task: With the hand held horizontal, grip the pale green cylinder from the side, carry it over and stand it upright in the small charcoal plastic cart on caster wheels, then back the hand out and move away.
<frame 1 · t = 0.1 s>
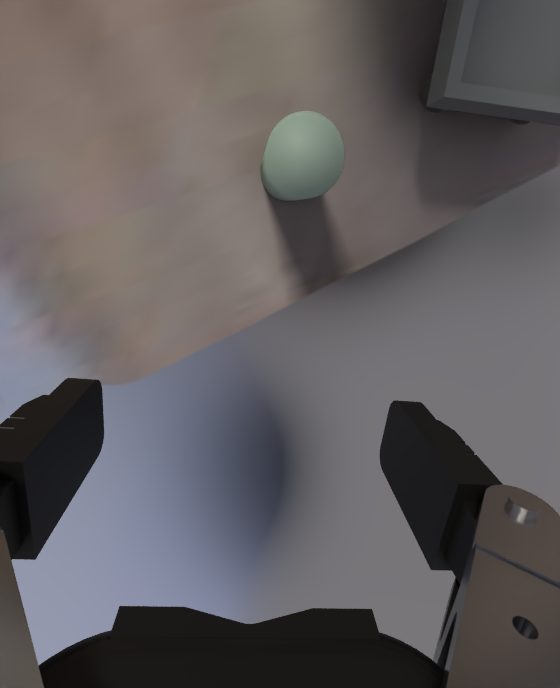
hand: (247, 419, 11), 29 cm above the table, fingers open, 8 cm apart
pale green cylinder: (287, 172, 36), on the table
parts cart: (490, 28, 33), on the table
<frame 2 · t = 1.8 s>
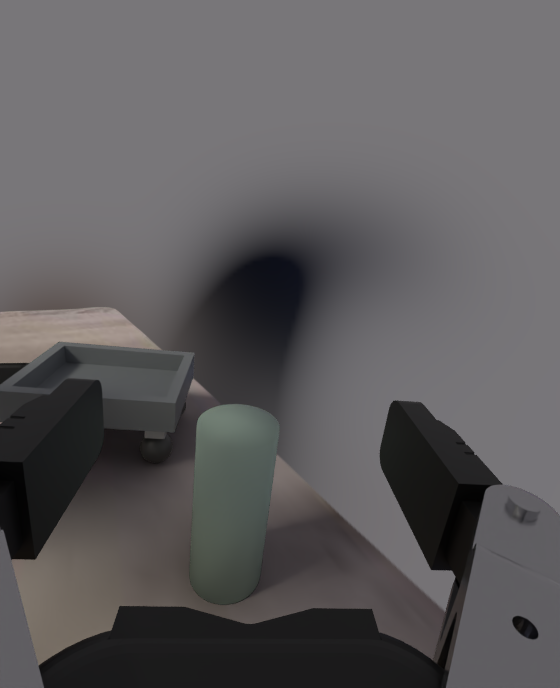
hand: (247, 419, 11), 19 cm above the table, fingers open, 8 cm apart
pale green cylinder: (225, 570, 28), on the table
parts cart: (112, 433, 41), on the table
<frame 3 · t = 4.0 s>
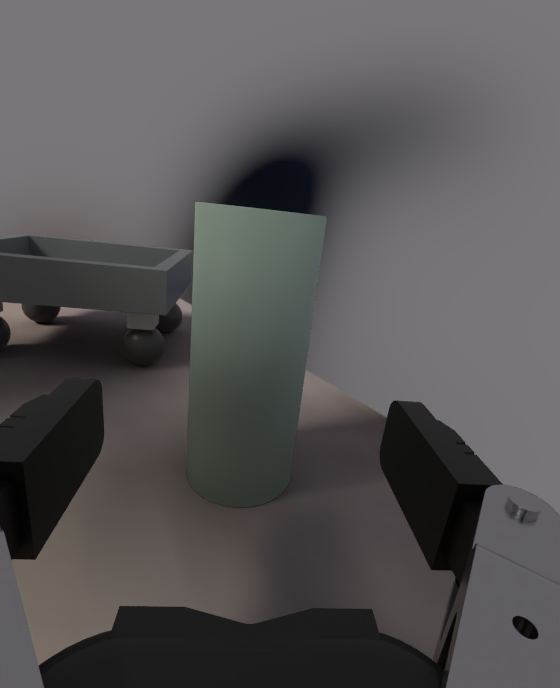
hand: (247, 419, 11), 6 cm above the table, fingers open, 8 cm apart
pale green cylinder: (239, 469, 19), on the table
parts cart: (88, 340, 33), on the table
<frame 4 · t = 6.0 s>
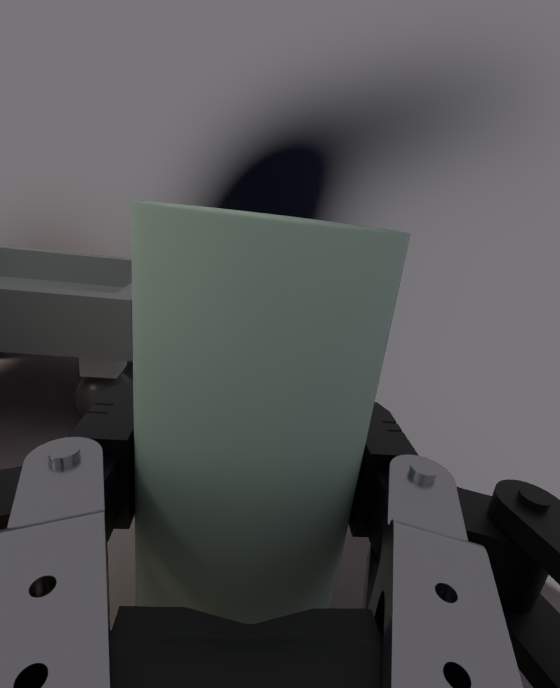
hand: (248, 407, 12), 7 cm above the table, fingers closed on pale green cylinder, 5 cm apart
pale green cylinder: (229, 651, 11), on the table, touching gripper
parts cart: (39, 381, 25), on the table
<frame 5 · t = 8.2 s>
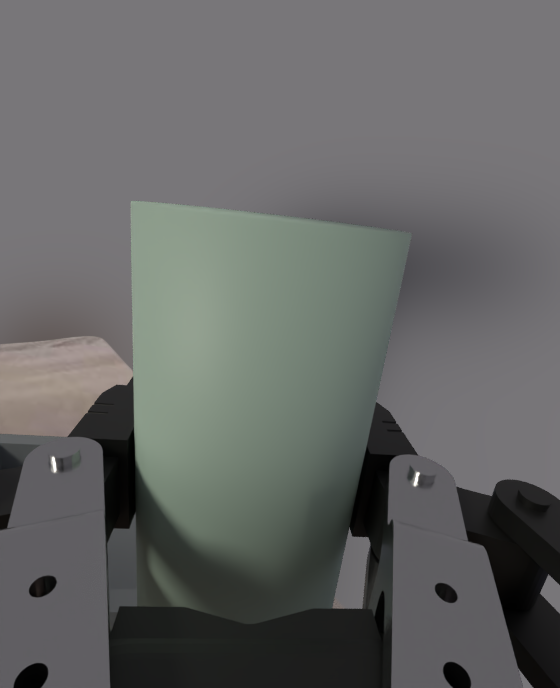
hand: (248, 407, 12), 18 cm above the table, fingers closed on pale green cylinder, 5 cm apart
pale green cylinder: (230, 652, 11), point 11 cm above the table, touching gripper
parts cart: (79, 602, 23), on the table
when the fingers open (13 cm above the table, at t = 10.2 s): pale green cylinder drops 1 cm, resting on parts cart.
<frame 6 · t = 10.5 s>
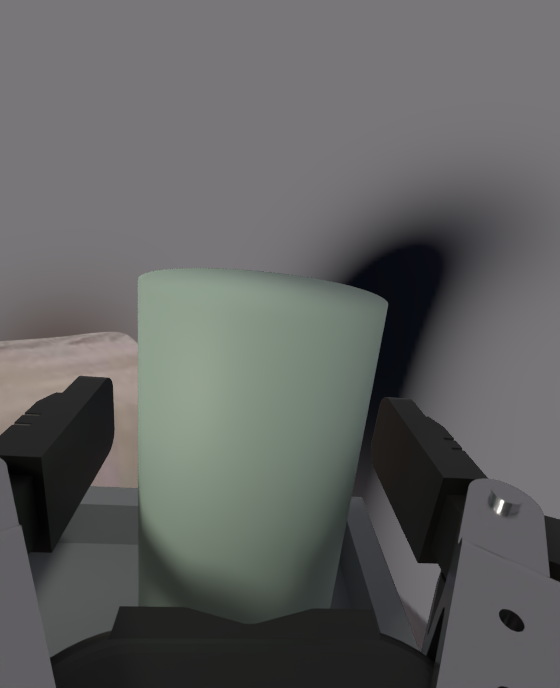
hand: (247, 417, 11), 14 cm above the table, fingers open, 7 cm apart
pale green cylinder: (227, 685, 12), point 6 cm above the table, touching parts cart
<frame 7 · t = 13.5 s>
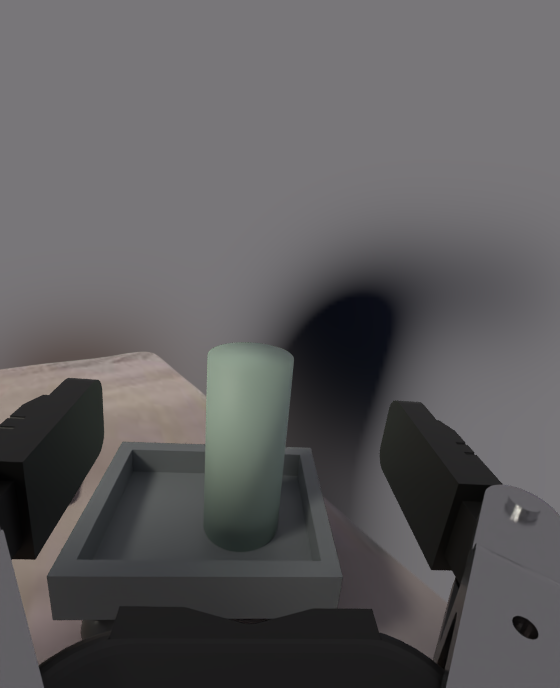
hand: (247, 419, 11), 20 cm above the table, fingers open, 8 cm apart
pale green cylinder: (240, 521, 26), point 6 cm above the table, touching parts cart
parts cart: (208, 582, 28), on the table, touching pale green cylinder
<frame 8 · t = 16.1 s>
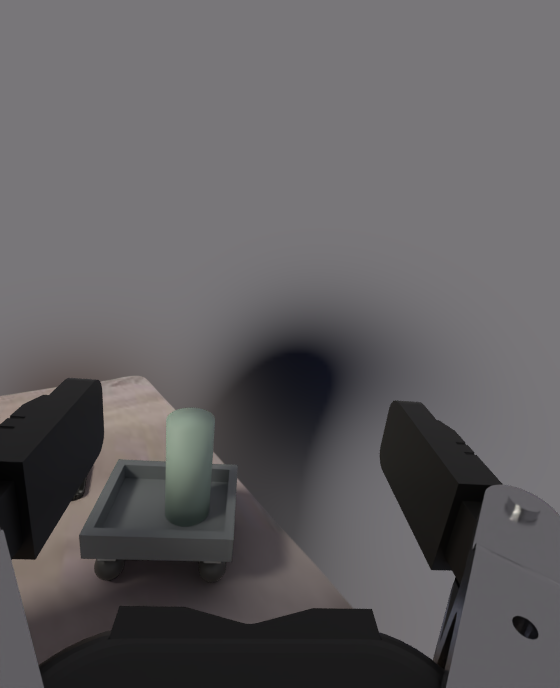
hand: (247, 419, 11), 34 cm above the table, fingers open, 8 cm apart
pale green cylinder: (187, 510, 45), point 6 cm above the table, touching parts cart
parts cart: (168, 545, 47), on the table, touching pale green cylinder
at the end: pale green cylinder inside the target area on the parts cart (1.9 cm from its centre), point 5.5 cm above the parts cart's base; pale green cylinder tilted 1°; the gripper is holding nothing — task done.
